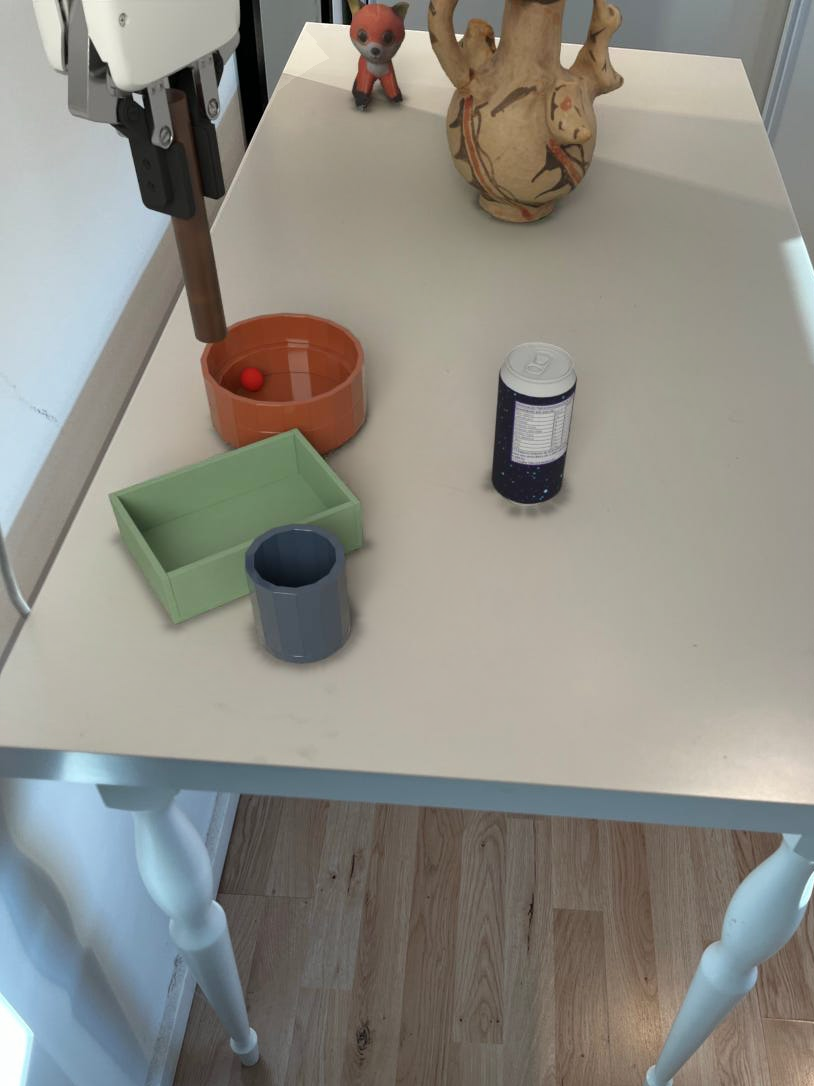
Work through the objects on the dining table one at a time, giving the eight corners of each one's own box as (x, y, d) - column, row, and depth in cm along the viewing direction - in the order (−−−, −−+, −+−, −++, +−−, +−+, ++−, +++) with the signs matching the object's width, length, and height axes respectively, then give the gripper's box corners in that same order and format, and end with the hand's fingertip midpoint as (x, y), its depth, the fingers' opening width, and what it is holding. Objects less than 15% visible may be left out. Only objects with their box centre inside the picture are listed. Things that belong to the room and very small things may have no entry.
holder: (284, 678, 65) (272, 608, 60) (242, 616, 69) (227, 545, 63) (367, 640, 68) (363, 569, 63) (323, 582, 71) (315, 510, 66)
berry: (248, 398, 83) (243, 376, 82) (239, 389, 85) (234, 367, 83) (269, 391, 84) (265, 369, 83) (260, 382, 85) (255, 361, 84)
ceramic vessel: (575, 260, 103) (610, -14, 84) (404, 228, 106) (400, -45, 87) (609, 186, 114) (646, -69, 95) (454, 159, 117) (461, -95, 98)
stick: (203, 347, 60) (155, 106, 49) (189, 331, 61) (140, 92, 51) (233, 337, 61) (192, 98, 50) (219, 322, 62) (176, 85, 51)
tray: (175, 624, 68) (161, 580, 65) (122, 539, 73) (107, 494, 70) (363, 546, 74) (360, 501, 70) (302, 472, 79) (296, 427, 76)
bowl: (254, 486, 78) (243, 424, 73) (188, 400, 84) (175, 339, 80) (394, 434, 83) (393, 373, 78) (322, 357, 89) (316, 297, 85)
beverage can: (571, 479, 80) (590, 351, 71) (544, 521, 77) (561, 393, 67) (508, 458, 81) (519, 330, 72) (479, 498, 78) (487, 370, 69)
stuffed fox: (411, 81, 132) (410, -22, 123) (409, 116, 125) (408, 9, 115) (355, 79, 131) (350, -24, 122) (350, 114, 124) (344, 7, 115)
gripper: (150, -268, 46) (214, 135, 60) (-117, -217, 37) (32, 247, 51) (284, -247, 44) (318, 164, 58) (39, -189, 35) (149, 285, 49)
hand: (184, 199), depth 55 cm, fingers closed on stick, 2 cm apart
